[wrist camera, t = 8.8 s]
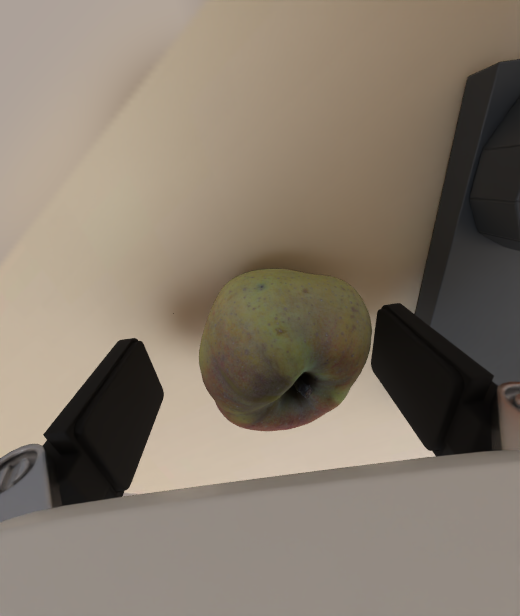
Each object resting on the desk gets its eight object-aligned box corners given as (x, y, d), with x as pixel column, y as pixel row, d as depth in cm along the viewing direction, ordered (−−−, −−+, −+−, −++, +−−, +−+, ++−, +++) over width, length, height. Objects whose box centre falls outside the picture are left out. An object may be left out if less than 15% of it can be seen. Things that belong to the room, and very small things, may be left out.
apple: (158, 284, 11) (82, 377, 6) (326, 222, 10) (410, 267, 5) (213, 374, 14) (194, 491, 9) (349, 332, 13) (418, 433, 8)
